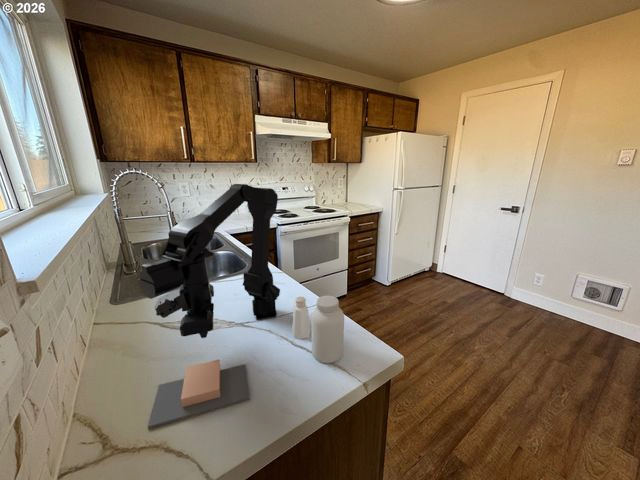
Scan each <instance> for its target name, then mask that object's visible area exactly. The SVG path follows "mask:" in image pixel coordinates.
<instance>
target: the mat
mask: <svg viewBox="0 0 640 480" xmlns="http://www.w3.org/2000/svg"><path fill="white" fill-rule="evenodd" d="M247 375H248V374H247V369H246V363H243V364H240V365H236V366H231V367H227V368H224V369H223V368H221V369H220V397H218V398H215V399H211V400H207V401H204V402H200V403H196V404H193V405H189V406H185V407H182V403H181V395H182V389H183V383H184V378H181V379H177V380H174V381H168V382H165V383H161V384H159V385H158V388H157V391H156V395H155V399H154V402H153V407H152V409H151V413H150V418H149V419H148V423H147V430H148V429H153V428H157V427H160V426H165V425H167V424H171V423H174V422H177V421H181V420H184V419H188V418H191V417H195V416H199V415H202V414H205V413H209V412H212V411H216V410H219V409H223V408H226V407H230V406H233V405H236V404H237V405H238V404H240V403H243V402H249V401H250V393H249V386H248V385H249V384H248V377H247Z"/></svg>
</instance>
